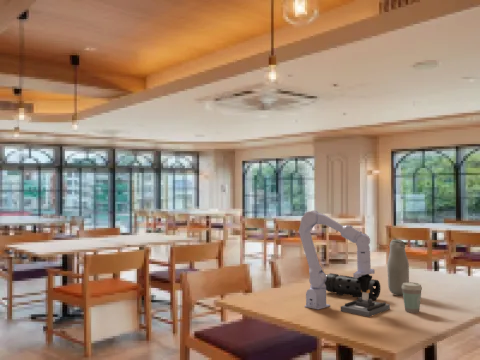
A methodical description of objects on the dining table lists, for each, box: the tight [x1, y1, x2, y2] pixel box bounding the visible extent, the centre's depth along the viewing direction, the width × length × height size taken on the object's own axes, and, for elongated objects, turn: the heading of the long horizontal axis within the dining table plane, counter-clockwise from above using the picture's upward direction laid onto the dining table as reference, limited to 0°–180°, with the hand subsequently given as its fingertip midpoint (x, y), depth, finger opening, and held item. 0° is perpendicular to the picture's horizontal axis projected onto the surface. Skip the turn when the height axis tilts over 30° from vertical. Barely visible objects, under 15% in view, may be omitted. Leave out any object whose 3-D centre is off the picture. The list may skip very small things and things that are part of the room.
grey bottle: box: [386, 239, 410, 296], centre depth 232 cm, size 10×10×28 cm
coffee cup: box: [402, 281, 423, 314], centre depth 201 cm, size 8×8×12 cm
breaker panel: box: [340, 297, 391, 318], centre depth 204 cm, size 18×14×5 cm
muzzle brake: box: [325, 272, 381, 301], centre depth 230 cm, size 10×28×10 cm, turn 48°
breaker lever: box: [361, 290, 370, 300], centre depth 204 cm, size 2×3×4 cm, turn 44°
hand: (364, 291), depth 204 cm, fingers closed, pressing on breaker lever
